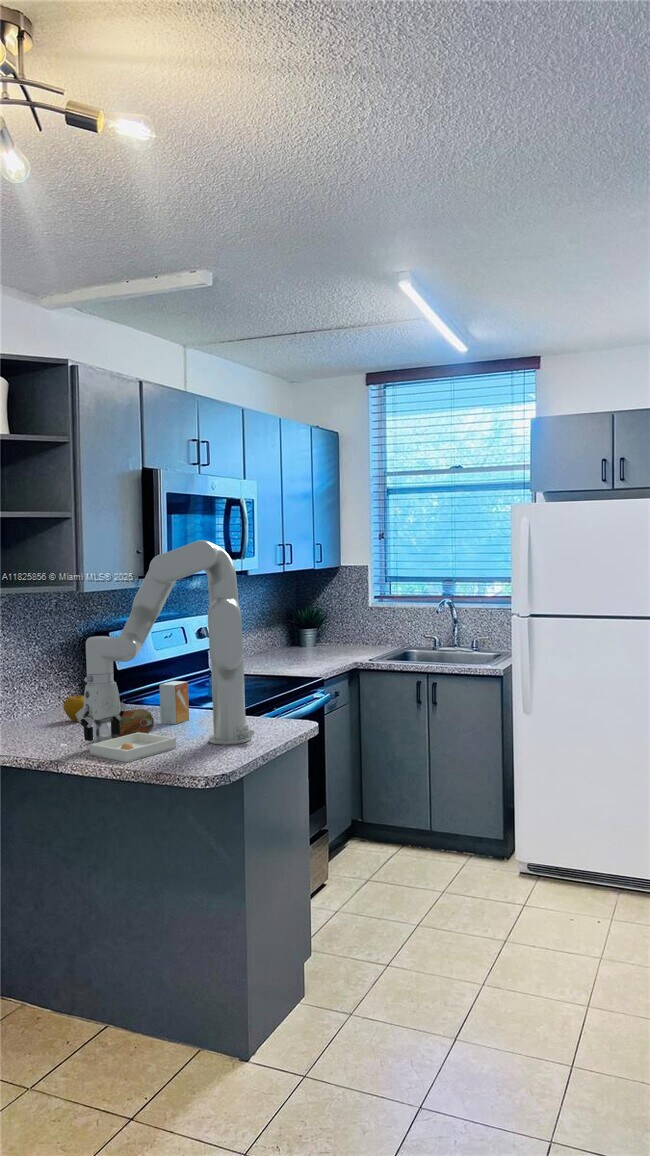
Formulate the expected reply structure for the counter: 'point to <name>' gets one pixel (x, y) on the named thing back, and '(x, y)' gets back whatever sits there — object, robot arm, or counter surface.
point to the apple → (73, 706)
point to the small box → (174, 702)
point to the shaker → (102, 730)
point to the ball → (127, 746)
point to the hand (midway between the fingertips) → (102, 737)
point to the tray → (141, 743)
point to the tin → (135, 722)
